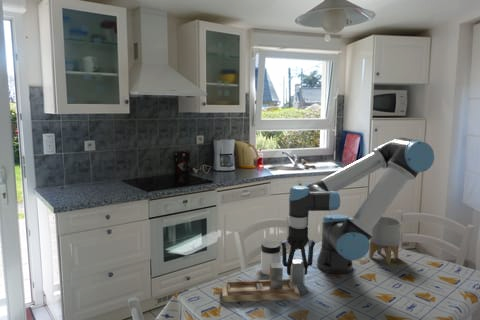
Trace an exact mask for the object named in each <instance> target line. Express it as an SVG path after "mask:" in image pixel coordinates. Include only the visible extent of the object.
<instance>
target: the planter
mask: <svg viewBox="0 0 480 320" xmlns="http://www.w3.org/2000/svg"><path fill="white" fill-rule="evenodd" d="M401 227H402V222H401V220H399V219H397V218H393V217H388V216H382V217H381V218H380V219H379V221H378V222H377V223H376V225H375V226H374V228H373V229H372V234H373V236H372V237H371V239H370V240H369V251H368V257H369V259H373V258H374V254H375V253H378V254H381V253H382V249H383V250H384V253H385V262H386V264H391V261H392V253H393V258H395V259H398V258H399V248H400V246H399V245H400V242H401Z"/></svg>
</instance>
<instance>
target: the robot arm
mask: <svg viewBox="0 0 480 320" xmlns="http://www.w3.org/2000/svg"><path fill="white" fill-rule="evenodd" d="M434 161H435V154H434V149H433V148H432V146H431V145H430V144H429V143H427V142H426V141H422V140H421V139H413V138H412V139H411V138H406V137H395V138H393V139H390V140H389V141H387V142H384V143H383V144H381V145H379V146H377V147H375V148H373V149H372V150H371V153H369V154H367V155H365V156H364V157H361V158H360V159H358V160H356V161H354V162H352V163H350V164H348V165H347V166H344V167H343V168H341V169H339V170H337V171H335V172H333V173H331V174H330V175H328V176H327V175H326V176H325V177H324V178H322V179H320V180H318V181H316V182H308V183H307V184H305V185H293V186H291V187H290V189H289V197H288V203H289V204H288V205H289V207H288V211H289V212H288V233H287V234H288V236H287V239H286V240H281V241H280V245H281V254H282V256H281V257H282V259H281V261H282V263H281V264H282V266H283V267H286V273H287V276H288V279H290V282H291V283H292V279H293V268H292V266H291V265H292V261H293V259H294V256H295V252H296V250H300V254H301V258H302V259H301V260H302V261H303V263H304V267H303V284H305V277H306V275H308V269H309V267H311V266H313V259H314V247H315V245H316V242H315V241H314V240H313V239H309V216H310V215H309V213H310V212H317V211H318V212H325V211H327V212H328V211H329V212H331V211H337V210H339V208H340V206H341V196H340V194H339V191H340V190H342V189H344V188H346V187H348V186H350V185H352V184H353V183H356V182H358V181H360V180H361V179H363V178H365V177H367V176H369V175H371V174H373V173H375V172H376V171H379V170H380V169H382V170H385V169H386V171H385V172H384V174H383V175H382V176H381V177H380V179H379V180H378V181H377V183H376V184H375V186H374V187H373V189H372V190H370V192H369V194H368V195H367V197H366V198H365V199H364V201H363V202H362V204H361V205H360V206H359V207H358V209H357V210H356V212H355V213H354V214H353V216H349V215H345V214H337V213H335V214H332V213H331V214H326V215H324V216H323V217H322V222H321V223H322V224H321V225H322V228H321V229H322V231H321V233H322V234H321V249H320V252H319V254H318V256H317V261H316V266H317V267H318V269H320V270H322V271H324V272H327V273H331V274H347V273H350V272H351V271H352V270H353V265H354V264H353V263H354V262H353V261H358V260H362V258H364V257H366V255H367V254H368V253H369V248H370V239H371V237H372V236H373V234H372V229H373V228H374V226H375V225H376V223H377V222H378V221H379V219H380V218H381V217H383V215H384V214H385V213H386V211H387V210H388V208H390V206H391V204H392V203H393V202H394V201H395V199H396V198H397V196H398V195H399V194H400V192H401V191H402V190H403V188H404V187H405V185H406V184H407V183H408V182H409V181H411V180H416V178H417V176H418V175H419V174H420V173H424V172H426V171H428V170H429V169H430V168H431V167H432V166H433V164H434ZM288 244H289V246H290V248H289V254H288V258H287V246H288ZM307 244H308V252H307V254H308V255H306V246H307Z"/></svg>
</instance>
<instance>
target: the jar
mask: <svg viewBox="0 0 480 320" xmlns="http://www.w3.org/2000/svg"><path fill="white" fill-rule="evenodd" d="M260 246H261V247H260V271H261V274H263V275H267V276H270V263H281V261H282V259H281V257H282V256H281V254H282V251H281V250H282V245H281V242H278V241H275V240H274V241H273V240H267V241H266V240H265V241H263V242H261V245H260ZM281 264H282V263H281Z"/></svg>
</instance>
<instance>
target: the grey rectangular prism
mask: <svg viewBox="0 0 480 320" xmlns="http://www.w3.org/2000/svg"><path fill="white" fill-rule="evenodd" d="M291 266H292V268H293V279H292V283H295V284H296V286H303V285H304V283H303V267H304V263H303V260H302V259H301V258H296V259H295V258H293V261H292V265H291Z"/></svg>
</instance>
